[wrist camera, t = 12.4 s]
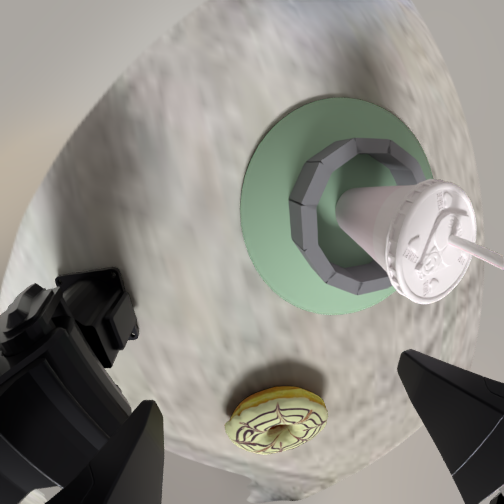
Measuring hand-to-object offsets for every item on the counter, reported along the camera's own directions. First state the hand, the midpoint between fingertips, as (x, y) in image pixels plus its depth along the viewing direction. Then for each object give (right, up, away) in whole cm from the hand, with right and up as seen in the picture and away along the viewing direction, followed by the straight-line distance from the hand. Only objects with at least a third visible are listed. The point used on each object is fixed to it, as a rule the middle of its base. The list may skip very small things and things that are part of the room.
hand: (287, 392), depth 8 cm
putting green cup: (+7, +8, +12) cm, 16 cm away
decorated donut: (+1, -13, +18) cm, 22 cm away
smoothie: (+7, +8, +12) cm, 16 cm away
